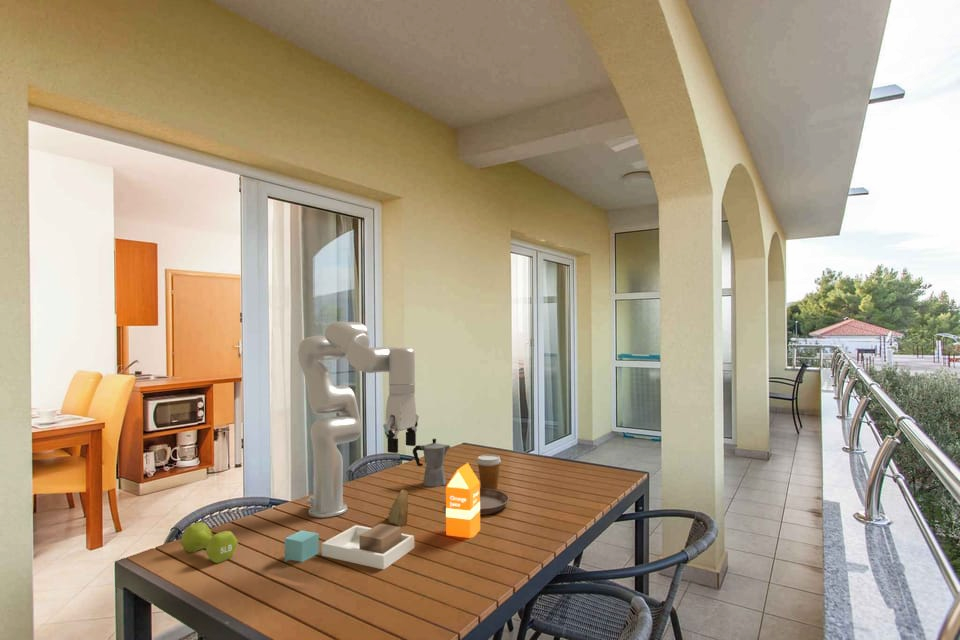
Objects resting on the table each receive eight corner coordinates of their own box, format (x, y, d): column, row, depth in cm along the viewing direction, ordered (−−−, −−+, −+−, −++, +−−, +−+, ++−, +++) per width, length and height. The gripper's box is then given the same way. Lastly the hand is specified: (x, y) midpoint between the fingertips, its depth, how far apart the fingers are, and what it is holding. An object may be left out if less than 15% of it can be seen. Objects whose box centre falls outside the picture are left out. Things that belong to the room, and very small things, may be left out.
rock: (414, 522, 149) (420, 507, 159) (396, 500, 149) (404, 486, 159) (387, 542, 150) (395, 526, 160) (369, 521, 150) (379, 505, 160)
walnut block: (359, 558, 128) (359, 535, 128) (380, 545, 136) (380, 523, 136) (381, 563, 125) (381, 539, 125) (401, 549, 133) (401, 527, 133)
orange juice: (480, 529, 149) (479, 463, 149) (470, 541, 140) (469, 470, 141) (456, 526, 151) (456, 461, 152) (445, 537, 143) (444, 468, 144)
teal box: (284, 561, 129) (284, 538, 129) (301, 552, 134) (301, 530, 134) (301, 565, 126) (301, 541, 126) (318, 556, 132) (318, 533, 132)
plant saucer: (517, 513, 163) (517, 503, 163) (457, 520, 157) (457, 510, 157) (497, 495, 183) (497, 486, 183) (443, 500, 177) (443, 491, 177)
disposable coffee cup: (476, 485, 195) (475, 454, 195) (499, 484, 195) (499, 454, 196) (478, 492, 185) (477, 460, 186) (503, 491, 186) (502, 459, 186)
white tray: (321, 558, 130) (321, 543, 130) (355, 539, 143) (355, 525, 143) (383, 572, 121) (383, 556, 122) (414, 550, 134) (414, 535, 134)
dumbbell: (240, 556, 132) (240, 529, 132) (210, 568, 125) (211, 539, 126) (206, 543, 141) (207, 518, 141) (177, 554, 134) (178, 527, 134)
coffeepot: (448, 479, 204) (448, 435, 205) (452, 485, 195) (452, 440, 195) (411, 481, 200) (411, 437, 201) (413, 488, 191) (413, 442, 192)
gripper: (406, 387, 153) (406, 442, 152) (373, 392, 137) (373, 454, 136) (427, 387, 150) (427, 444, 149) (396, 393, 134) (396, 456, 133)
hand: (402, 448), depth 143 cm, fingers open, 9 cm apart
